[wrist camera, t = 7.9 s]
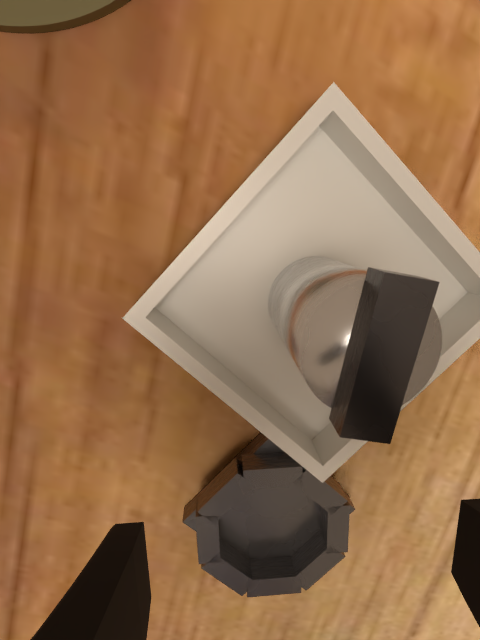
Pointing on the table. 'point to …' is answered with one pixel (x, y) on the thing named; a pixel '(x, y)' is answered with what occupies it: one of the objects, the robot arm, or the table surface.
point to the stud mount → (269, 523)
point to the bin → (293, 244)
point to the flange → (52, 14)
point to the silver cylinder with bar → (358, 339)
